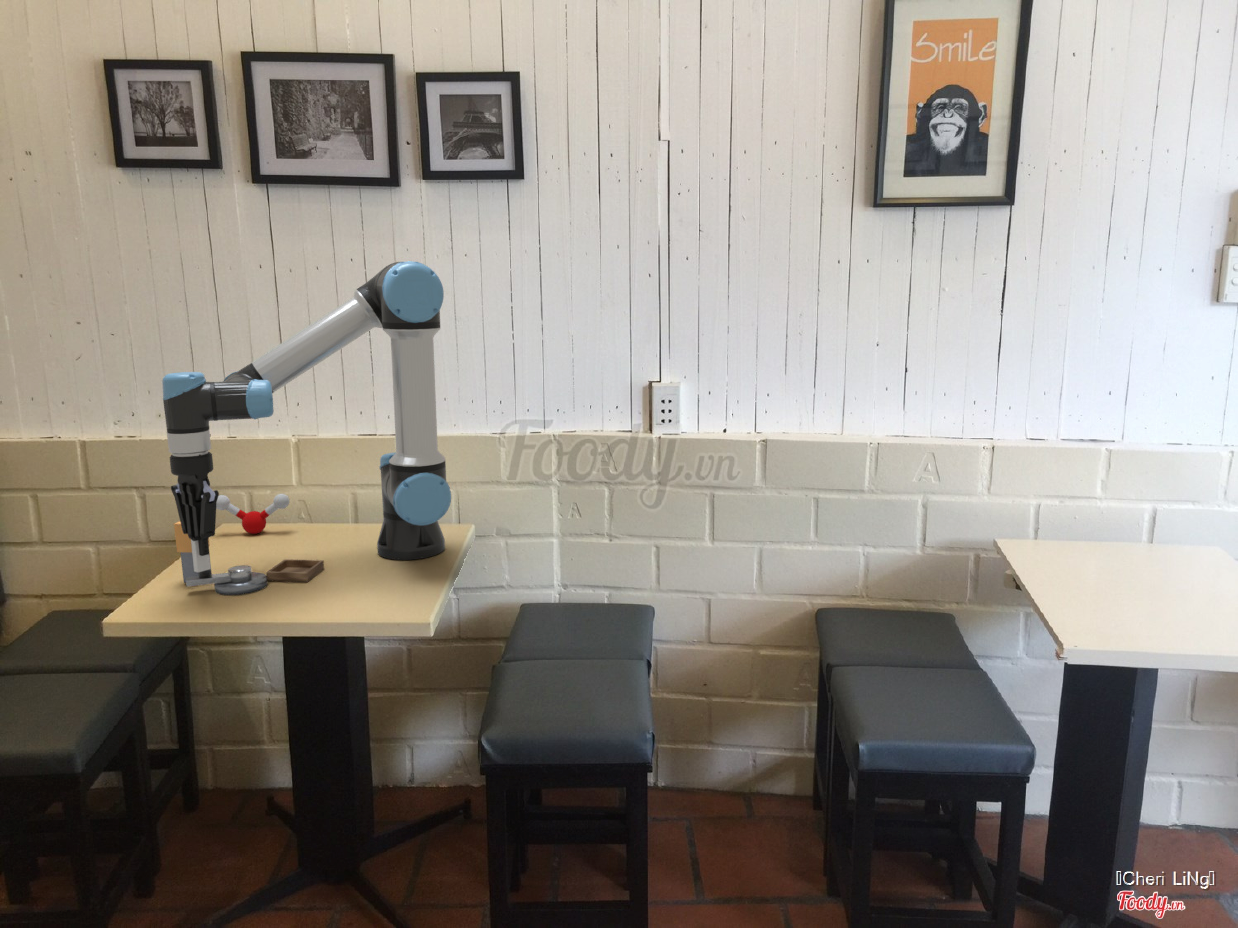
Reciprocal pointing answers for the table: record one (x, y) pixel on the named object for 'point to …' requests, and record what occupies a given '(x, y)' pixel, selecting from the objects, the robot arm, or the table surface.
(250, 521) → the molecular model
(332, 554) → the table surface
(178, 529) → the orange wooden block
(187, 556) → the gray block
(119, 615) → the table surface
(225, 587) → the crank base
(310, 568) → the tray
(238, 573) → the crank
